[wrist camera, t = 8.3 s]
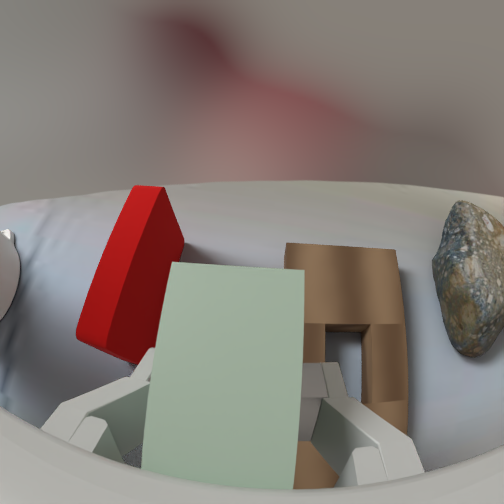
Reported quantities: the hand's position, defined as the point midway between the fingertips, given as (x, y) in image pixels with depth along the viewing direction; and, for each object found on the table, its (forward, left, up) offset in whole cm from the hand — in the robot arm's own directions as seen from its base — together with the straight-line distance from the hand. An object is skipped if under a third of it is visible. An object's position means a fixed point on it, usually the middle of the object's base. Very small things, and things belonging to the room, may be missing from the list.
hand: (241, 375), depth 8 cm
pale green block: (0, -1, -5) cm, 5 cm away
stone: (+26, +12, -20) cm, 35 cm away
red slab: (-11, +9, -20) cm, 25 cm away
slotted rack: (+8, +3, -20) cm, 22 cm away
